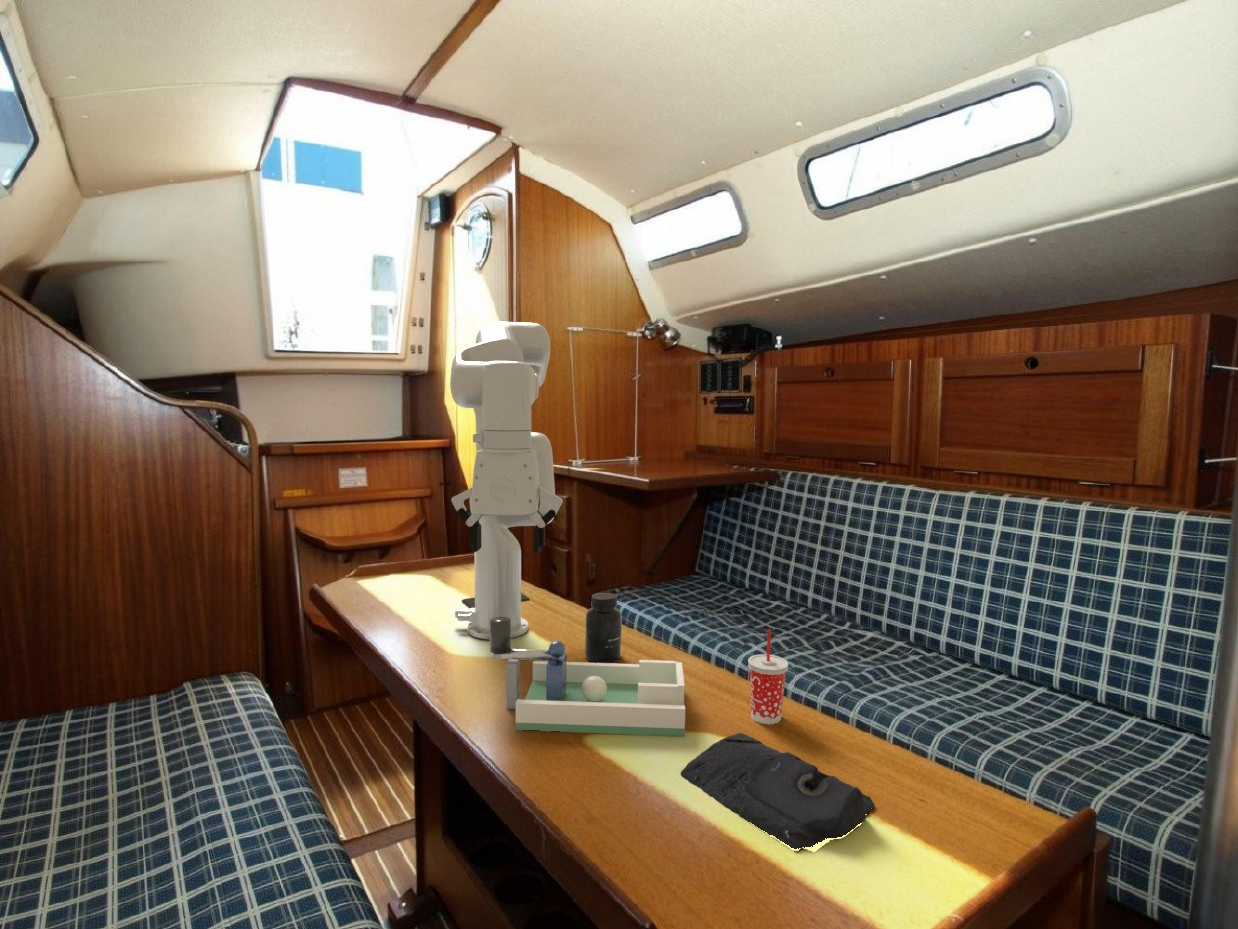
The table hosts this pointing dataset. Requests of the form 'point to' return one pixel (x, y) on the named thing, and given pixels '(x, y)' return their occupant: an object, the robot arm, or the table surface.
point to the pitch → (604, 699)
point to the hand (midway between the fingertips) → (507, 550)
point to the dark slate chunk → (777, 791)
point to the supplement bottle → (603, 629)
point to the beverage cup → (767, 686)
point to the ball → (594, 688)
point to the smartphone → (471, 601)
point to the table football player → (531, 656)
